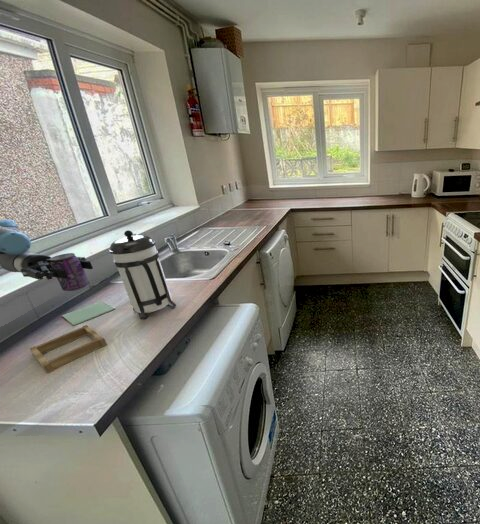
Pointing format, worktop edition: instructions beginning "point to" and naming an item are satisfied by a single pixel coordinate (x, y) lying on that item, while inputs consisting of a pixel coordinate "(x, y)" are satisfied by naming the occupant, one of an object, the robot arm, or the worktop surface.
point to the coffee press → (141, 273)
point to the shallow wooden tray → (70, 355)
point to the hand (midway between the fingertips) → (77, 269)
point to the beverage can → (70, 271)
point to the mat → (87, 313)
